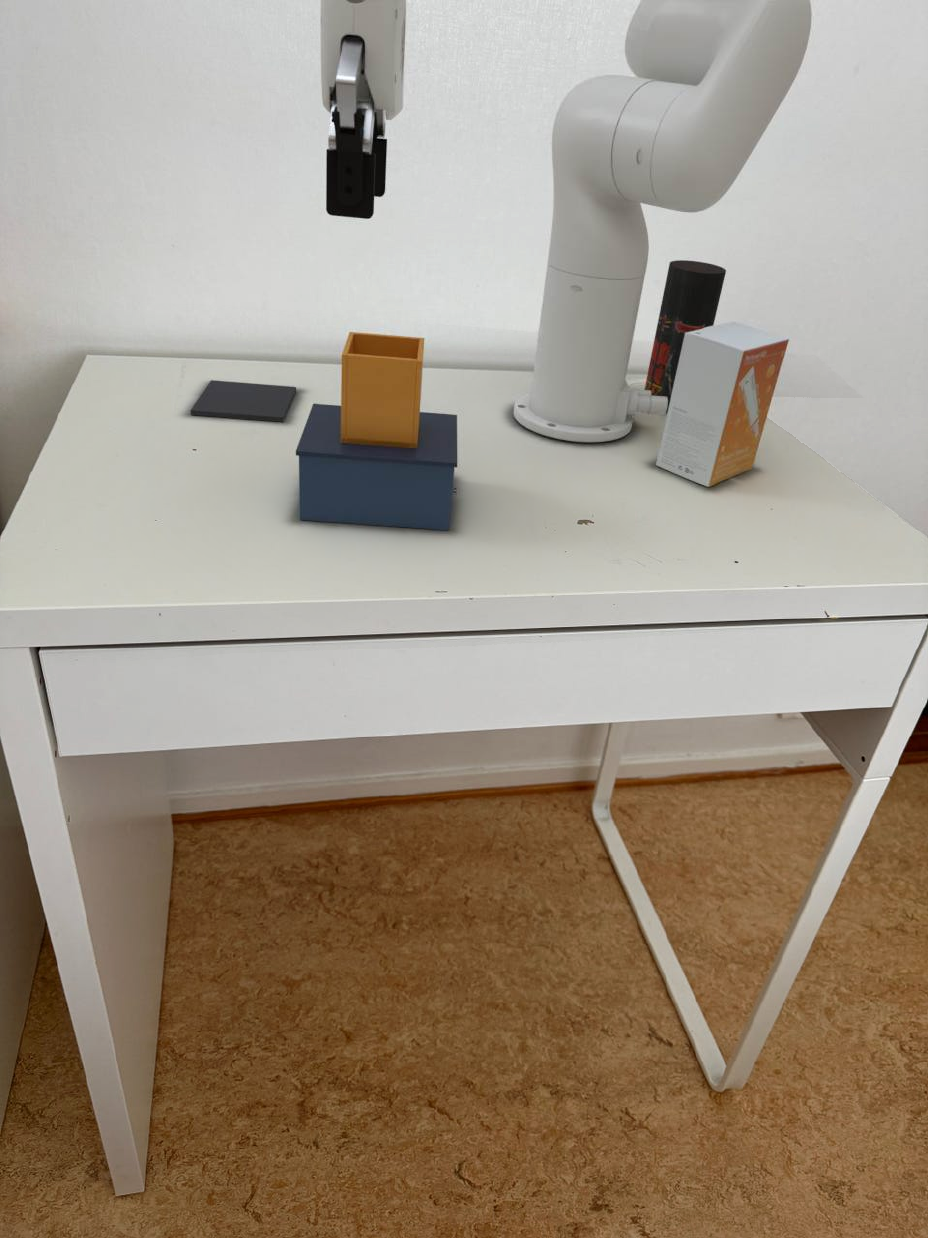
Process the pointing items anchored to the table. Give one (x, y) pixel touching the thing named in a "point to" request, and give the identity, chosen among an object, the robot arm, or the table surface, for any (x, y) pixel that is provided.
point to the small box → (720, 401)
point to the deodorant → (682, 318)
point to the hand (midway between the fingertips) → (357, 204)
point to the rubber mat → (244, 401)
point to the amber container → (381, 389)
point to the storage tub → (377, 474)
